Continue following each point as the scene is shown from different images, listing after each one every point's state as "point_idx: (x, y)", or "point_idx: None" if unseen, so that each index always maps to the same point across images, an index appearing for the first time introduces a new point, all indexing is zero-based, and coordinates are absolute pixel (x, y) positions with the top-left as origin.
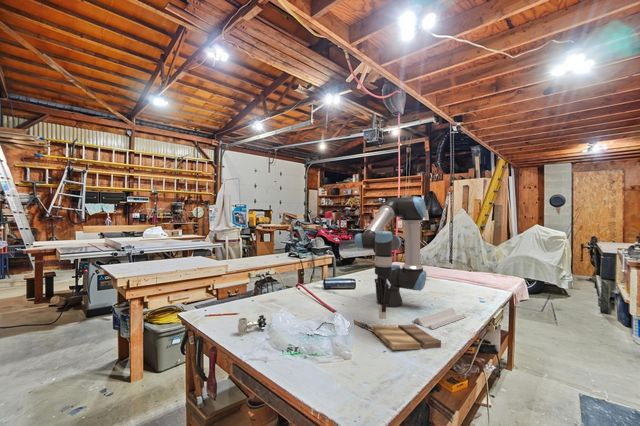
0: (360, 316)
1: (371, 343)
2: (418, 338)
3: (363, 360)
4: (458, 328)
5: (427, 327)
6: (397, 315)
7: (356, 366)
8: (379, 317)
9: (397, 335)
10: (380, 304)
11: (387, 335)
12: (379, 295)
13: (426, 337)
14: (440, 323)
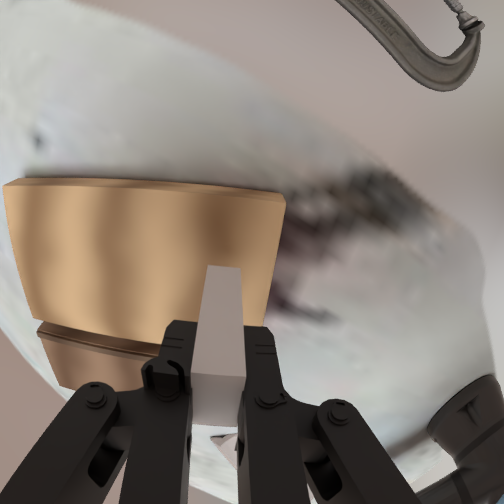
0: (473, 259)
1: (122, 106)
2: (74, 346)
3: (16, 28)
4: (202, 472)
5: (230, 435)
6: (386, 403)
7: (4, 3)
8: (227, 271)
9: (101, 280)
10: (147, 361)
11: (95, 217)
12: (257, 501)
13: (94, 378)
14: (234, 466)
